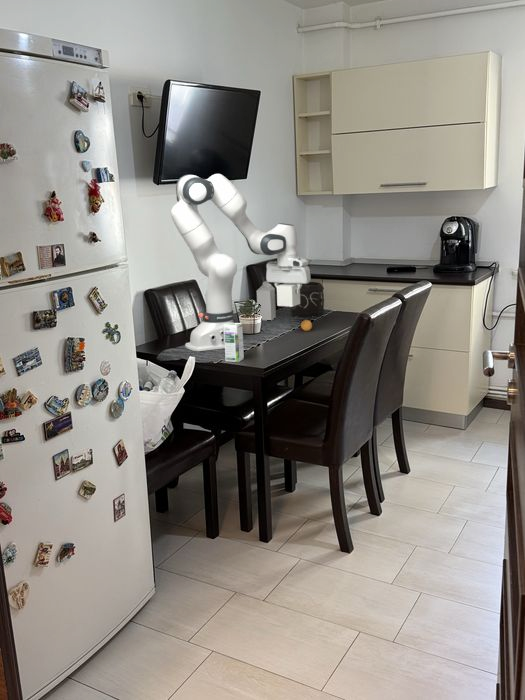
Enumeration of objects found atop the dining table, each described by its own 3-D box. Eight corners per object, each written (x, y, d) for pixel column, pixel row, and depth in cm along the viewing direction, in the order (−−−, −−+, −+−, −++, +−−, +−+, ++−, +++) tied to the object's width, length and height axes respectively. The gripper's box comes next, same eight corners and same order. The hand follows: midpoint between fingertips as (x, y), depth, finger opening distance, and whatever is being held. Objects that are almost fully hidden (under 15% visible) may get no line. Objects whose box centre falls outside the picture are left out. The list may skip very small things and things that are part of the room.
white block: (292, 306, 292) (291, 286, 289) (277, 305, 295) (276, 285, 293) (300, 303, 298) (299, 283, 296) (285, 302, 301) (284, 283, 299)
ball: (304, 332, 305) (304, 321, 304) (299, 330, 310) (298, 319, 308) (314, 330, 308) (313, 320, 306) (308, 329, 312) (308, 318, 311)
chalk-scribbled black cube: (314, 319, 333) (313, 287, 329) (283, 316, 342) (282, 285, 338) (331, 312, 347) (331, 282, 343) (301, 310, 357) (300, 280, 353)
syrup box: (225, 361, 262) (222, 325, 259) (231, 357, 268) (229, 321, 264) (238, 362, 260) (236, 325, 257) (244, 358, 266) (242, 322, 262)
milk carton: (257, 320, 335) (256, 282, 331) (262, 317, 342) (261, 280, 337) (271, 321, 333) (269, 282, 328) (275, 318, 339) (274, 280, 335)
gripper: (262, 261, 294) (264, 293, 298) (305, 262, 284) (306, 295, 288) (270, 259, 300) (271, 290, 303) (311, 260, 290) (312, 292, 293)
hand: (288, 293), depth 295 cm, fingers closed on white block, 7 cm apart
